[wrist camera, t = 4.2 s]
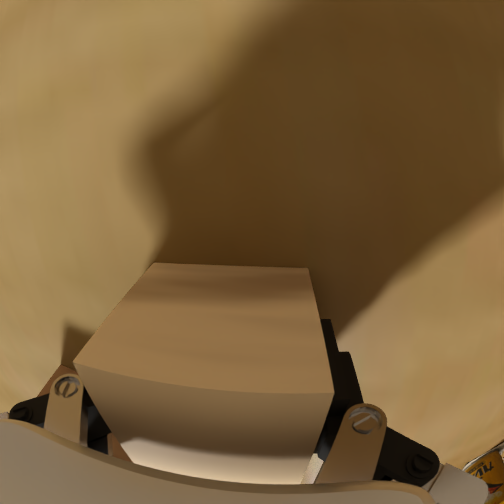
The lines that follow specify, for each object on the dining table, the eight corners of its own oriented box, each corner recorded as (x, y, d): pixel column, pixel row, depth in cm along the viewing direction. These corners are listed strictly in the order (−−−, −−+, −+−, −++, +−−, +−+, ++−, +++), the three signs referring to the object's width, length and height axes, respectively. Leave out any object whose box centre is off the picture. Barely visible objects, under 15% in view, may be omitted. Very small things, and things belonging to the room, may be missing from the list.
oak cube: (154, 261, 11) (72, 361, 5) (307, 267, 11) (334, 392, 5) (174, 369, 13) (137, 467, 8) (294, 377, 13) (298, 487, 7)
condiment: (466, 463, 19) (486, 531, 8) (515, 433, 18) (540, 494, 6) (455, 479, 22) (470, 538, 10) (500, 453, 20) (519, 507, 9)
